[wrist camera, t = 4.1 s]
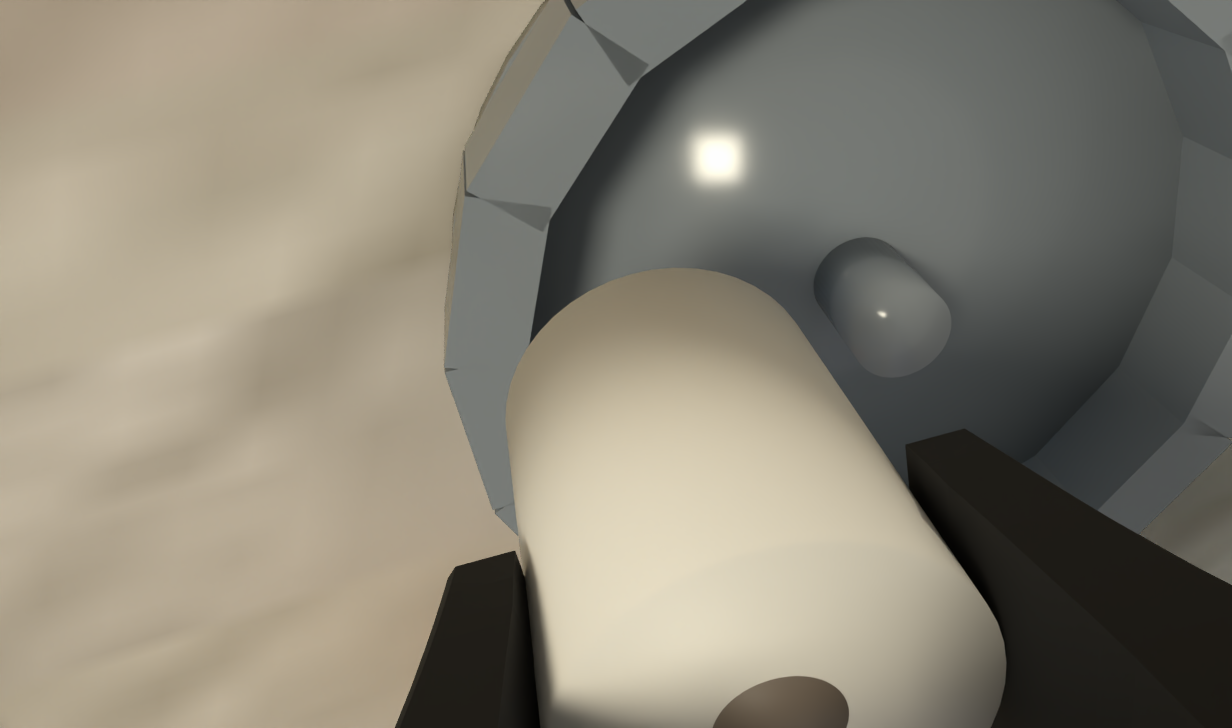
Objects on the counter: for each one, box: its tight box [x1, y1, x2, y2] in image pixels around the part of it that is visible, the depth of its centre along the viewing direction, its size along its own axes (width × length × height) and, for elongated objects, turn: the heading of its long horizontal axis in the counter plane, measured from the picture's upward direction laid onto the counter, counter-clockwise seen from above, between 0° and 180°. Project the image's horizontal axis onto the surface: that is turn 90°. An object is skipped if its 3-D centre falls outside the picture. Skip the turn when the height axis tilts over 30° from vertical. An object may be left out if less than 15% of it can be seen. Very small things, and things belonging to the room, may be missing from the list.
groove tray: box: [444, 0, 1232, 535], centre depth 17 cm, size 14×14×3 cm
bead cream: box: [505, 268, 1007, 728], centre depth 11 cm, size 4×4×5 cm
